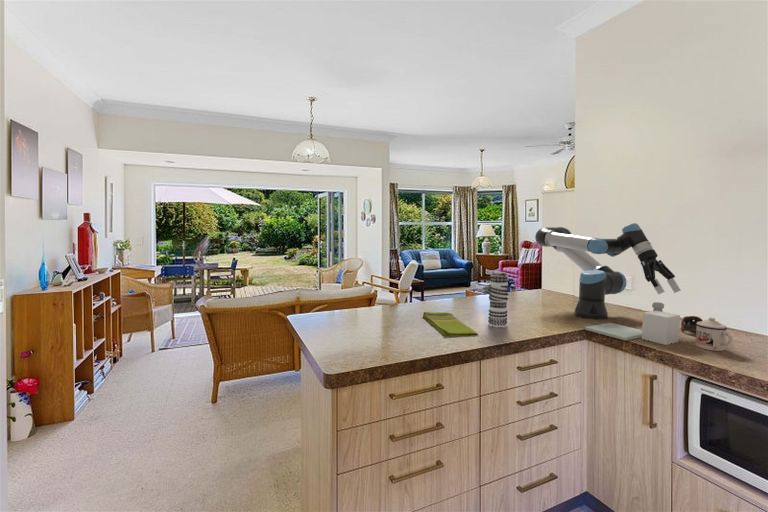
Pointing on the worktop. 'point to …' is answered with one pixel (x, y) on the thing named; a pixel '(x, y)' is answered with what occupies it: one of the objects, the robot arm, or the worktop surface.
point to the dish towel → (448, 324)
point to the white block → (661, 327)
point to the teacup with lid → (712, 335)
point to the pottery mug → (689, 323)
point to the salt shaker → (658, 306)
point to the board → (616, 331)
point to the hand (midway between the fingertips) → (669, 292)
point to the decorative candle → (498, 299)
